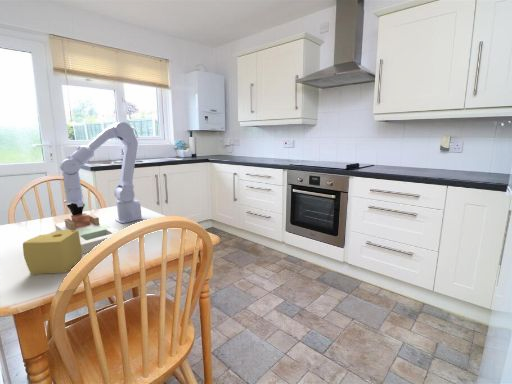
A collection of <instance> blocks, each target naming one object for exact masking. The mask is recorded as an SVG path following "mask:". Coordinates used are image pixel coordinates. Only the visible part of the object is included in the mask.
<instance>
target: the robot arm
mask: <svg viewBox="0 0 512 384" xmlns="http://www.w3.org/2000/svg"><path fill="white" fill-rule="evenodd" d="M116 138H117V139H119V140H120V141H121V142H122V143H123V145H124V151H123V158H122V163H121V170H120V177H119V181H118V182H117V186H116V187H115V189H114V191H113V192H114V196H115V198H117V199H116V208H117V209H116V210H117V216H118V218H115V220H114V221H116V222H118V223H120V224H126V223H131V222H134V221H138V220H142V219H143V216H142V208H141V207H142V206H141V203H140V201H139V199H135V191H134V183H133V181H134V173H135V165H136V159H137V152H138V146H139V141H138V139H137V138H136V135H135V132H134V128H133V127H132V126H131V125H130V124H129V123H128V122H127V121H120V122H117V121H116V122H114V123H112V124H111V125H110V126H108V127H107V128H105V129H103V130H102V131H101V132H100V133H99V134H98V135H97V136H95V138H94V139H93V140H92V141H90V142H89V143H88V144H86V145H83V144H82V145H81V146H78V145H77V147H76V150H75V151H73V153H71V154H70V155H69V154H68V155H67V156H66V159H63V160H62V161H61V162H60V165H59V169H60V170H61V171H62V181H63V188H64V194H65V198H66V199H64V200H63V203H64V204H65V203H66V207H67V208H68V209H69V211H70V213H71V216H72V215H77V214H82V213H83V211H84V208H85V206H86V204H85V203H84V197H83V190H82V184H81V178H80V175H79V174H80V173H79V171H80V169H81V167H82V166H84V165H86V163H88V162H89V160H90V159H92V158H93V157H95V151H96V150H98V149H99V148H100V147H102V145H103V144H105V143H106V142H107V141H108V140H110V139H116Z"/></svg>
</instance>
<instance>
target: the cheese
mask: <svg viewBox="0 0 512 384" xmlns="http://www.w3.org/2000/svg"><path fill="white" fill-rule="evenodd" d="M22 252H23V257H24V261H25V263H26V266H27V269H28V271H29V274H30V275H45V274H60V273H61V274H62V273H67V272H68V271H69V270H70V269H72V267H74V266H75V265H76V264H78V262H80V260H82V259H83V253H82V250H81V243H80V237H79V232H78V230H61V231H53V232H51V233H46V234H39V235H37V236H35V237H32V238H29V239H27V240H26V241H23V243H22ZM81 258H82V259H81Z"/></svg>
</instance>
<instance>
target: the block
mask: <svg viewBox="0 0 512 384" xmlns="http://www.w3.org/2000/svg"><path fill="white" fill-rule="evenodd" d="M70 218H71V220H72V221H73V222H75V227H76V228H78V227H82V226H86V225H90V219H89V214H88V213H86V212H82V214H77V215H72V214H71V217H70Z"/></svg>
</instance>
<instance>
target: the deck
mask: <svg viewBox="0 0 512 384" xmlns="http://www.w3.org/2000/svg"><path fill="white" fill-rule="evenodd" d="M88 215H89V219H90V225H86V226H82V227H78V228H76V227H75V222H73V221H72V219H70V218H65V219H64V221H63V222H60V223H55V225H54V226H55V230H56V231H61V230H78V232H79V237H80V243H81V250H82V254H83V253H84V254H85V253H87V252H88V253H89V252H90V250H91V251H93V250H92V249H93V248H94V247H95V246H97V245H98V244H100V243H101V242H102V241H104V240H105V239H107V238H108V237H110V236H111V235H113V234H115V233H116V232H118V231H119V230H118V229H116V228H114V227H112V226H110V225H108V224H107V223H105V222H103V221H101V220H100V218H99V216H98V215H97V216H96V215H95V214H92V213H89V214H88ZM56 231H55V232H56Z"/></svg>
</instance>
